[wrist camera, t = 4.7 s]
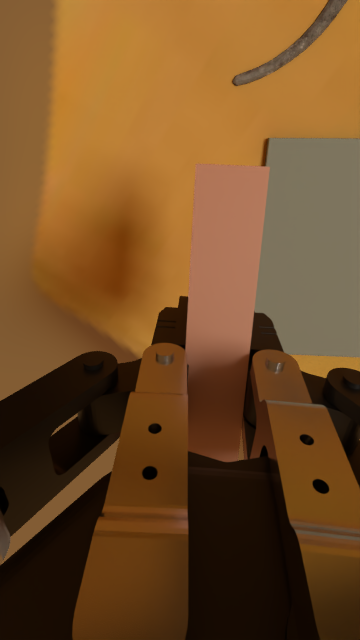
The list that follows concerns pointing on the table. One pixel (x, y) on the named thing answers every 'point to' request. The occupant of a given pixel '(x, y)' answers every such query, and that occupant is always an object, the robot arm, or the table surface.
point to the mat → (312, 246)
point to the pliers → (294, 45)
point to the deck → (222, 302)
